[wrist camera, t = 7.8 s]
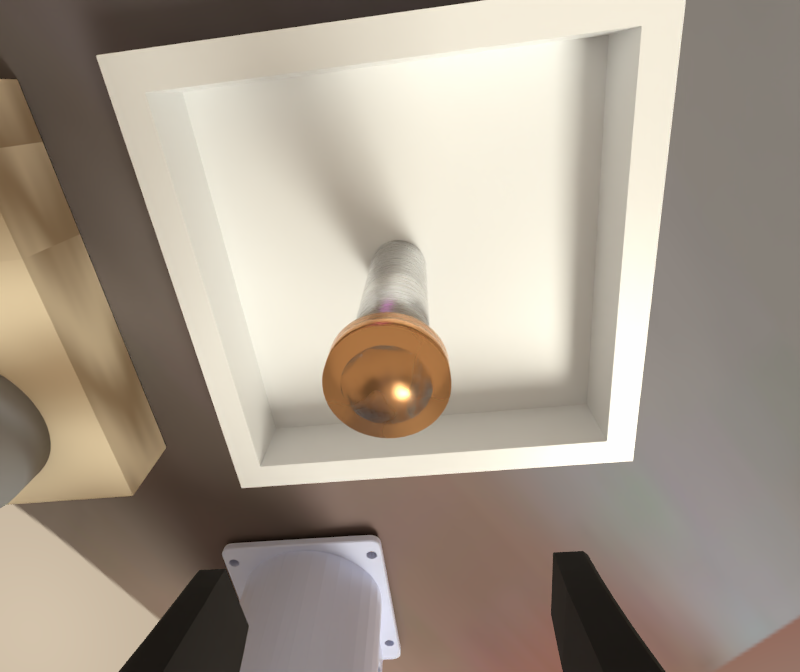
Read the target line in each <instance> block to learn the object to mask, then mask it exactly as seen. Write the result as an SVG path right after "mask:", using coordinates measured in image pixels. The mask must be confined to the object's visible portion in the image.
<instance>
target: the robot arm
mask: <svg viewBox="0 0 800 672" xmlns="http://www.w3.org/2000/svg"><path fill="white" fill-rule="evenodd" d="M370 551H372V552H370ZM222 556H223V559H224V562H225V564H226V567H227V569H228V572H229V574H230V577H231V580H232V582H233V585H234V587H235V590H236V592H237V595H238V597H239V600H240V602H239V600H238V598H237V596H236V593H235V591H234V588H233V586H232V583H231V581H230V579H229V576H228V574H227V571H226V569H215V570H199V572H198V573H197V574H196V575H195V576H194V577H193V579H192V580H191V581H190V582H189V584H188V585H187V586H186V588H185V589H184V590H183V591H182V593H181V594H180V595H179V597H178V598H177V599H176V600H175V602H174V603H173V604H172V606H171V607H170V608H169V609H168V611H167V612H166V613H165V615H164V616H163V617H162V618H161V620H160V621H159V622H158V623H157V625H156V626H155V627H154V629H153V630H152V631H151V632H150V634H149V635H148V636H147V637H146V639H145V640H144V641H143V643H142V644H141V645H140V646H139V647H138V649H137V650H136V651H135V652H134V654H133V655H132V656H131V657H130V658H129V660H128V661H127V662H126V664H125V665H124V666H123V667H122V668H121V670H120V671H119V672H382V663H383V659H396V658H398V657H399V656H400V649H401V647H400V642H399V637H398V631H397V626H396V621H395V615H394V610H393V605H392V599H391V594H390V588H389V583H388V578H387V572H386V567H385V562H384V556H383V551H382V546H381V541H380V539H379V538H378V537H377V536H374V535H359V536H343V537H326V538H310V539H294V540H277V541H261V542H245V543H231V544H227V545H226V546H225V547H224V550H223V552H222ZM551 616H552V621H553V626H554V631H555V636H556V641H557V646H558V651H559V655H560V660H561V665H562V669H563V672H665V670H664V669H663V668H662V666H661V665H660V664H659V662H658V661H657V659H656V658H655V657H654V655H653V654H652V653H651V651H650V650H649V648H648V647H647V646H646V644H645V643H644V641H643V640H642V639H641V637H640V636H639V635H638V633H637V632H636V630H635V629H634V627H633V626H632V625H631V623H630V622H629V620H628V619H627V617H626V616H625V614H624V613H623V611H622V610H621V608H620V607H619V605H618V604H617V602H616V601H615V599H614V598H613V596H612V594H611V593H610V591H609V590H608V588H607V587H606V585H605V583H604V582H603V580H602V579H601V577H600V575H599V574H598V572H597V570H596V568H595V567H594V565H593V563H592V562H591V560H590V558H589V556H588V555H587V554H586V553H585V552H583V551H578V552H557V553H553V576H552V604H551Z"/></svg>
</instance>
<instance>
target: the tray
mask: <svg viewBox="0 0 800 672" xmlns="http://www.w3.org/2000/svg"><path fill="white" fill-rule="evenodd" d="M685 2H686V0H483V1H476V2H469V3H462V4H455V5H448V6H441V7H434V8H427V9H420V10H413V11H405V12H398V13H391V14H384V15H377V16H370V17H363V18H356V19H349V20H342V21H335V22H328V23H321V24H314V25H307V26H299V27H292V28H285V29H278V30H271V31H264V32H257V33H250V34H243V35H236V36H229V37H222V38H215V39H208V40H201V41H194V42H186V43H179V44H172V45H165V46H158V47H151V48H144V49H137V50H130V51H123V52H116V53H109V54H102V55H96V57H97V60H98V63H99V66H100V69H101V72H102V75H103V78H104V81H105V84H106V87H107V90H108V93H109V96H110V99H111V102H112V105H113V108H114V111H115V114H116V117H117V120H118V123H119V126H120V129H121V132H122V135H123V138H124V140H125V143H126V146H127V149H128V152H129V155H130V158H131V161H132V164H133V167H134V170H135V173H136V176H137V179H138V182H139V185H140V188H141V191H142V194H143V197H144V200H145V203H146V206H147V209H148V212H149V215H150V218H151V221H152V224H153V227H154V230H155V232H156V235H157V238H158V241H159V244H160V247H161V250H162V253H163V256H164V259H165V262H166V265H167V268H168V271H169V274H170V277H171V280H172V283H173V286H174V289H175V292H176V295H177V298H178V301H179V304H180V307H181V310H182V313H183V316H184V319H185V322H186V325H187V327H188V330H189V333H190V336H191V339H192V342H193V345H194V348H195V351H196V354H197V357H198V360H199V363H200V366H201V369H202V372H203V375H204V378H205V381H206V384H207V387H208V390H209V393H210V396H211V399H212V402H213V405H214V408H215V411H216V414H217V417H218V420H219V422H220V425H221V428H222V431H223V434H224V437H225V440H226V443H227V446H228V449H229V452H230V455H231V458H232V461H233V464H234V467H235V470H236V473H237V476H238V479H239V482H240V485H241V488H251V487H265V486H280V485H294V484H308V483H323V482H337V481H351V480H366V479H380V478H394V477H408V476H423V475H437V474H451V473H466V472H480V471H494V470H509V469H523V468H537V467H552V466H566V465H580V464H595V463H609V462H623V461H633V455H634V446H635V437H636V429H637V420H638V411H639V403H640V394H641V385H642V376H643V368H644V359H645V350H646V342H647V333H648V324H649V315H650V307H651V298H652V289H653V281H654V272H655V263H656V254H657V246H658V237H659V228H660V220H661V211H662V202H663V193H664V185H665V176H666V167H667V159H668V150H669V141H670V133H671V124H672V115H673V106H674V98H675V89H676V80H677V72H678V63H679V54H680V45H681V37H682V28H683V19H684V11H685ZM393 240H403V241H407V242H410V243H412V244H414V245H415V246H416V247H418V248H419V250H420V251H421V252H422V254H423V255H424V258H425V261H426V271H427V289H428V307H429V325H430V328H431V329H433V330H434V332H435V333H436V334H437V335H438V336H439V337H440V339H441V340H442V342H443V344H444V346H445V348H446V351H447V354H448V358H449V365H450V373H451V395H450V398H449V401H448V404H447V406H446V408H445V409H444V411H443V412H442V414H441V415H440V416H439V417H438V419H437V420H436V421H434V422H433V423H432V424H431V425H430V426H428V427H427V428H425V429H423V430H421V431H419V432H417V433H415V434H412V435H409V436H405V437H399V438H378V437H372V436H369V435H365V434H362V433H360V432H357V431H355V430H354V429H352V428H350V427H348V426H347V425H346V424H344V423H343V422H342V421H341V420H340V419H338V418H337V417H336V415H335V414H334V413H333V412H332V410H331V409H330V407H329V406H328V404H327V402H326V399H325V396H324V393H323V388H322V375H323V370H324V367H325V363H326V360H327V357H328V354H329V351H330V348H331V346H332V344H333V342H334V340H335V338H336V337H337V335H338V334H339V333H340V332H341V331H342V329H343V328H345V327H346V326H347V325H348V324H350V323H351V322H353V321H354V320H356V317H357V314H358V310H359V306H360V302H361V298H362V294H363V291H364V287H365V283H366V279H367V275H368V271H369V268H370V264H371V260H372V257H373V255H374V253H375V251H376V250H377V249H378V248H379V247H380V246H381V245H383V244H384V243H387V242H389V241H393Z"/></svg>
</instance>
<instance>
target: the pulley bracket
mask: <svg viewBox="0 0 800 672" xmlns="http://www.w3.org/2000/svg"><path fill="white" fill-rule="evenodd" d="M165 449H166V445H165V443H164V440H163V438H162V435H161V433H160V430H159V428H158V425H157V423H156V421H155V418H154V416H153V413H152V411H151V408H150V406H149V403H148V401H147V398H146V396H145V393H144V391H143V388H142V386H141V384H140V381H139V379H138V376H137V374H136V371H135V369H134V366H133V364H132V361H131V359H130V356H129V354H128V351H127V349H126V346H125V344H124V342H123V339H122V337H121V334H120V332H119V329H118V327H117V324H116V322H115V319H114V317H113V314H112V312H111V309H110V307H109V305H108V302H107V300H106V297H105V295H104V292H103V290H102V287H101V285H100V282H99V280H98V277H97V275H96V272H95V270H94V268H93V265H92V263H91V260H90V258H89V255H88V253H87V250H86V248H85V245H84V243H83V240H82V238H81V235H80V233H79V231H78V228H77V226H76V223H75V221H74V218H73V216H72V213H71V211H70V208H69V206H68V203H67V201H66V198H65V196H64V193H63V191H62V189H61V186H60V184H59V181H58V179H57V176H56V174H55V171H54V169H53V166H52V164H51V161H50V159H49V156H48V154H47V152H46V149H45V147H44V144H43V142H42V139H41V137H40V134H39V132H38V129H37V127H36V124H35V122H34V119H33V117H32V115H31V112H30V110H29V107H28V105H27V102H26V100H25V97H24V95H23V92H22V90H21V87H20V85H19V82H18V80H17V79H0V508H1V507H3V506H5V505H7V504H22V503H36V502H51V501H65V500H79V499H94V498H108V497H122V496H133V495H134V494H135V492H136V491H137V489H138V488H139V486H140V485H141V483H142V482H143V481H144V479H145V478H146V476H147V475H148V473H149V472H150V471H151V469H152V468H153V466H154V465H155V463H156V462H157V460H158V459H159V458H160V456H161V455H162V453H163V452H164V450H165Z"/></svg>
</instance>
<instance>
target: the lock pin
mask: <svg viewBox="0 0 800 672" xmlns="http://www.w3.org/2000/svg"><path fill="white" fill-rule="evenodd" d="M322 388H323V393H324V396H325V399H326V402H327V404H328V406H329V407H330V409H331V410H332V412H333V413H334V414H335V415H336V417H337V418H338V419H340V420H341V421H342V422H343V423H344V424H346V425H347V426H348V427H350V428H352V429H354V430H355V431H357V432H360V433H362V434H365V435H369V436H372V437H378V438H399V437H405V436H409V435H412V434H415V433H417V432H419V431H421V430H423V429H425V428H427V427H428V426H430V425H431V424H432V423H433V422H434V421H436V420H437V419H438V417H439V416H440V415H441V414H442V412H443V411H444V409H445V408H446V406H447V404H448V401H449V398H450V395H451V373H450V365H449V358H448V354H447V351H446V348H445V346H444V344H443V342H442V340H441V339H440V337H439V336H438V335H437V334H436V333H435V332H434V330H433V329H431V328H430V325H429V307H428V289H427V271H426V261H425V258H424V255H423V254H422V252H421V251H420V250H419V248H418V247H416V246H415V245H414V244H412V243H410V242H407V241H403V240H393V241H389V242H387V243H384V244H383V245H381V246H380V247H379V248H378V249H377V250H376V251H375V253H374V255H373V257H372V260H371V264H370V268H369V271H368V275H367V279H366V283H365V287H364V291H363V294H362V298H361V302H360V306H359V310H358V314H357V317H356V320H354V321H353V322H351V323H350V324H348V325H347V326H346V327H345V328H343V329H342V331H341V332H340V333H339V334H338V335H337V337H336V338H335V340H334V342H333V344H332V346H331V348H330V351H329V354H328V357H327V360H326V363H325V367H324V370H323V375H322Z"/></svg>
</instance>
